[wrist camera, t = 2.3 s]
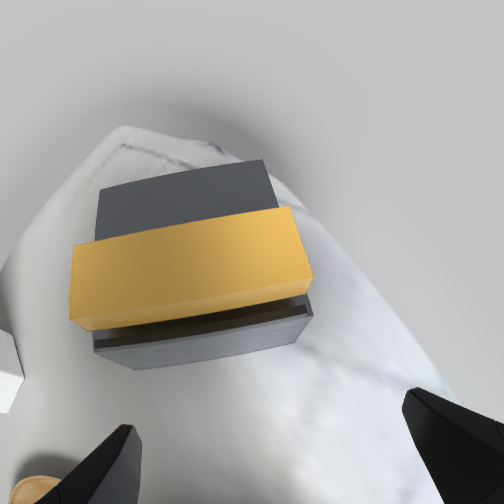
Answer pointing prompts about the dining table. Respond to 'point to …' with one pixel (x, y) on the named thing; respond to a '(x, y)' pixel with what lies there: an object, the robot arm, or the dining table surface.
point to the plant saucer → (32, 489)
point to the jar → (9, 371)
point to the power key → (188, 270)
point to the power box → (185, 211)
